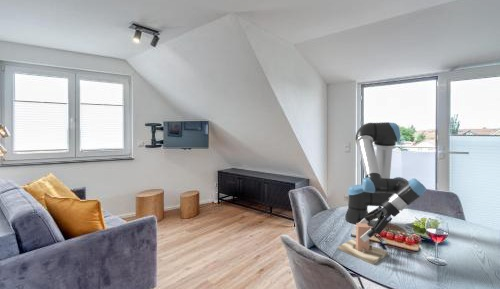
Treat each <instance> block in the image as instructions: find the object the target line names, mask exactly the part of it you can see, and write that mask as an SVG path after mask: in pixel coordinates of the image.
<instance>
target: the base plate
mask: <svg viewBox="0 0 500 289" xmlns="http://www.w3.org/2000/svg"><path fill="white" fill-rule="evenodd" d="M337 250H338V251H340V252H344V253H346V254H347V255H350V256H352V257H354V258H357V259H359V260H362V261H364V262H367V263H369V264H371V265H375V264H377V263H378V262H380V260H383V259H384V258H386V257H387V256H388V255H389V252H388V251H387V250H384V249H382V248H379V247H376V246H373V245H371V244H369V252H365V248H363V251H358V250H357V247H356V238H352V239H350V240H348V241H346V242H344V243H342V244H340V245H338V246H337Z"/></svg>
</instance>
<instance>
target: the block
mask: <svg viewBox="0 0 500 289" xmlns="http://www.w3.org/2000/svg"><path fill="white" fill-rule="evenodd" d="M355 225H356V227H355V231H356V232H355V234H356V235H355V240H356V247H357V250H358V251H363V248H365V252H369V245H370V239H368V240H367V241H366V242H364V241H363V240H362V239H361V238H360V237H361V236H362V235H363V234H365V233H366V232H367V231H368V230H370V229H371V227H370V226H369V224H365V223H356V224H355Z"/></svg>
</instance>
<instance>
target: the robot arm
mask: <svg viewBox="0 0 500 289" xmlns="http://www.w3.org/2000/svg"><path fill="white" fill-rule="evenodd" d="M400 139H401V130H400V127H399V125H398V124H397V123H395V122H368V123H364V124H362V125H361V126H360V127H359V128H358V130H357V132H356V133H355V143H356V145H357V146H358V149H359V155H360V159H361V163H362V168H363V173H364V177H363V178H362V179H361V180H362V182H361V184H353V185H351V186H349V188H348V193H347V194H348V198H347V199H348V200H347V201H348V204H347V205H348V206H347V207H348V208H347V210H346V213H345V218H344V219H345V221H346V222H347V223H350V224H353V225H354V227H355V228H356V223H365V224H368V225H369V224H371V221H374V220H376V222H375V224H373V226H372V227H370V229H369V230H368V231H367V232H366V233H365V234H363V235H362V236H361V237H360V238H361V239H362V240H363V241H364V242H366V241H367V240H368V239H369V240H370V239H372V237H373V236H375V235H380V234H381V233H382V232H383V230H385V228H386V227H387V225H388V224H389V223H390V222H391V221H392V220H393V217H394V218H395V217H396V216H397V215H399V214H400V211H401V212H403V210H405V209H407V207H408V206H409V205H411V204H412V203H414V201H416V200H417V199H419V198H420V197H421V196H423V194H425V192H426V191H427V188H426V186H425V185H424V184H423V183H421V182H420V181H419V180H418V179H416V178H411V179H410V180H407V179H406V178H404V177H401V176H396V177H394V178H391V170H392V157H393V148H394V147H395V146H396V144H397V143H399V141H400ZM374 146H375V147H376V151H375V149H374ZM368 207H376V208H375V209H373V210H371V211H369V210H368ZM391 216H392V217H391Z"/></svg>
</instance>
